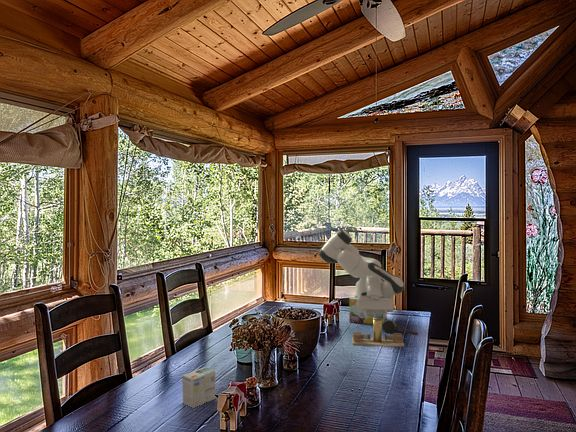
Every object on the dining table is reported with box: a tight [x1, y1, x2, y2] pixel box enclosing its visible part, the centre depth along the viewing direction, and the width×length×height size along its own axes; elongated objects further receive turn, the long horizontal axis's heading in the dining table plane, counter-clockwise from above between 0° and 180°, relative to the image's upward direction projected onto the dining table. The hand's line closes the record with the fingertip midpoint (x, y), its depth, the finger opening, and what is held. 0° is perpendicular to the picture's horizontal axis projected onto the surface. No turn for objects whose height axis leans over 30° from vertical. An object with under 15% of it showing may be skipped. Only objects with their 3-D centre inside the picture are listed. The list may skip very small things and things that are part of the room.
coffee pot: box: [382, 319, 419, 336], centre depth 243 cm, size 8×18×8 cm
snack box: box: [348, 296, 386, 326], centre depth 265 cm, size 21×6×15 cm, turn 73°
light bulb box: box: [181, 366, 217, 409], centre depth 159 cm, size 11×7×11 cm, turn 141°
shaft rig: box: [351, 331, 405, 347], centre depth 226 cm, size 10×26×5 cm, turn 83°
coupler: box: [372, 317, 383, 342], centre depth 226 cm, size 5×5×12 cm
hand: (375, 318), depth 237 cm, fingers open, 8 cm apart
